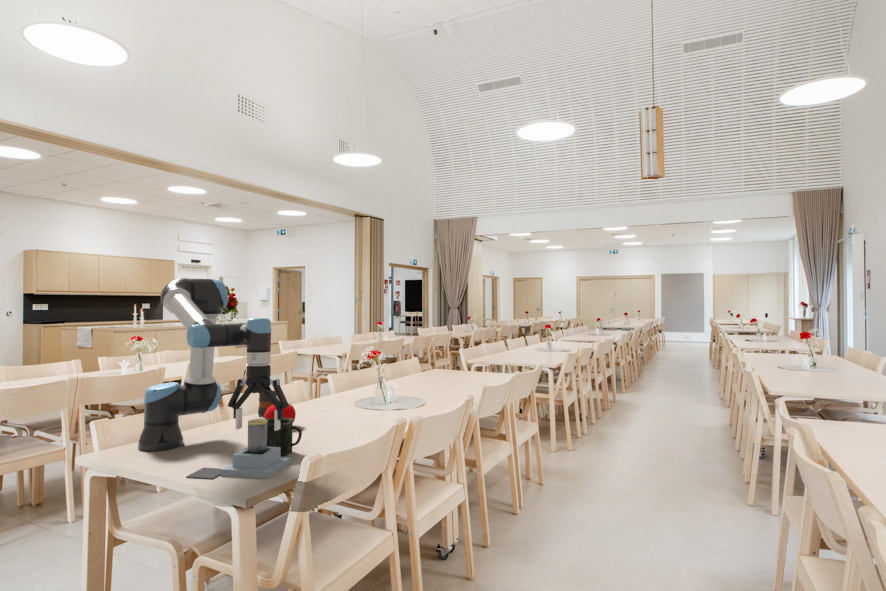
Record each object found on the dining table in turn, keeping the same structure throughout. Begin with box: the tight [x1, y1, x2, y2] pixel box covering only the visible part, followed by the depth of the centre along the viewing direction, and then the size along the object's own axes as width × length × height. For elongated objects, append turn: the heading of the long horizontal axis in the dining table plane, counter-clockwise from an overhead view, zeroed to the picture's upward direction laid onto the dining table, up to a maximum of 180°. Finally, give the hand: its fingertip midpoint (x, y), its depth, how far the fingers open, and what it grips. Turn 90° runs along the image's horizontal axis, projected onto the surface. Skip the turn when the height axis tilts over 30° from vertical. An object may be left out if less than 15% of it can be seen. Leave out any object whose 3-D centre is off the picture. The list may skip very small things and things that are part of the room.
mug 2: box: [257, 390, 278, 417], centre depth 252 cm, size 9×12×12 cm
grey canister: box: [247, 418, 267, 455], centre depth 169 cm, size 6×6×14 cm
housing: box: [220, 446, 292, 480], centre depth 169 cm, size 16×16×6 cm
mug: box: [267, 418, 303, 457], centre depth 187 cm, size 11×15×12 cm
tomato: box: [263, 403, 296, 421], centre depth 227 cm, size 12×13×11 cm
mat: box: [185, 467, 222, 480], centre depth 164 cm, size 9×9×1 cm
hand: (258, 429), depth 169 cm, fingers open, 13 cm apart
